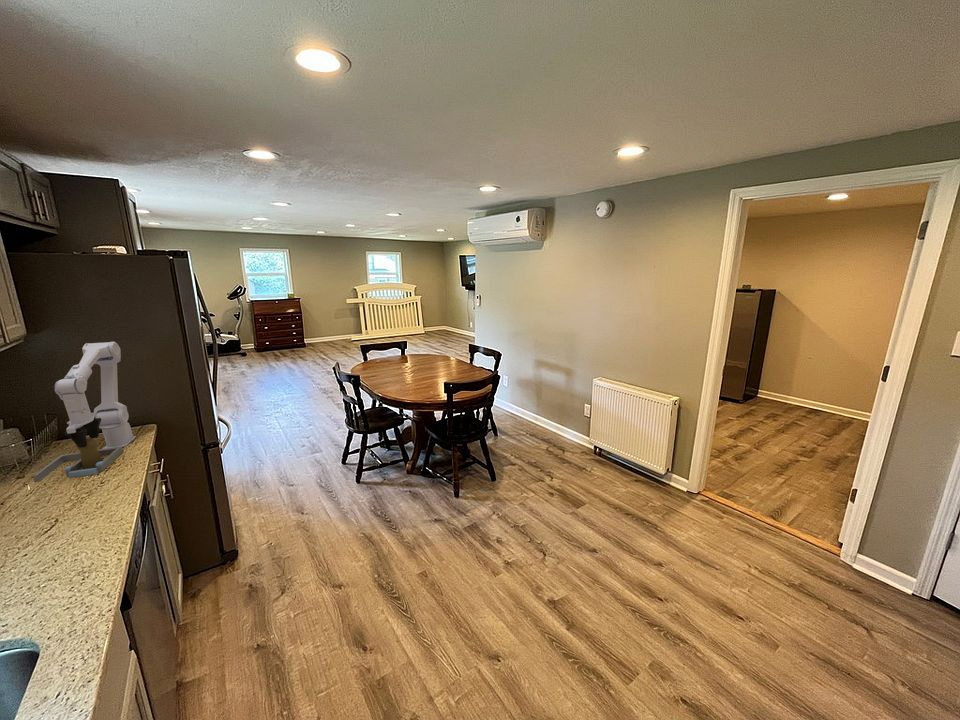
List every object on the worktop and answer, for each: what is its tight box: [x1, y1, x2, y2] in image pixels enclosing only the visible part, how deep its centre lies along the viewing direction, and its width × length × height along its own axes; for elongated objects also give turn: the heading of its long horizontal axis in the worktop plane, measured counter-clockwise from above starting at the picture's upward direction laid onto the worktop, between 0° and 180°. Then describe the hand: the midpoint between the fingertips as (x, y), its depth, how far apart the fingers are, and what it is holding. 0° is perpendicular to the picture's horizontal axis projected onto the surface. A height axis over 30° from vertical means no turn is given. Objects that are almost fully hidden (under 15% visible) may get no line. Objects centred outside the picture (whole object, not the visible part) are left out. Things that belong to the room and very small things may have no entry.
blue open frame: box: [32, 447, 124, 483], centre depth 145 cm, size 16×19×3 cm
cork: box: [75, 437, 104, 470], centre depth 144 cm, size 6×6×11 cm
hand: (88, 442), depth 144 cm, fingers open, 7 cm apart
